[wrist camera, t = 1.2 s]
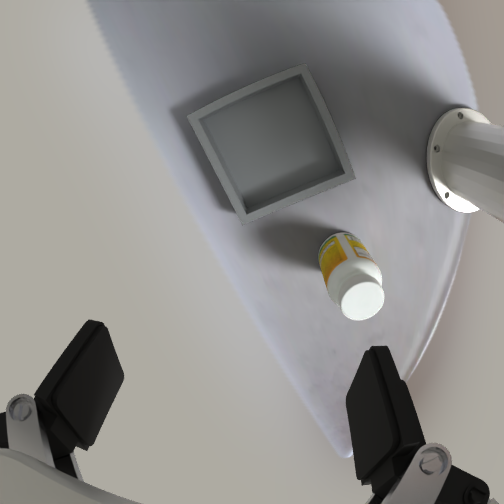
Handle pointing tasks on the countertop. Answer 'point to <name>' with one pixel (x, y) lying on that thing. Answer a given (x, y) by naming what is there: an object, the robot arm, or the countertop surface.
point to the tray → (272, 143)
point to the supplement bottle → (351, 276)
